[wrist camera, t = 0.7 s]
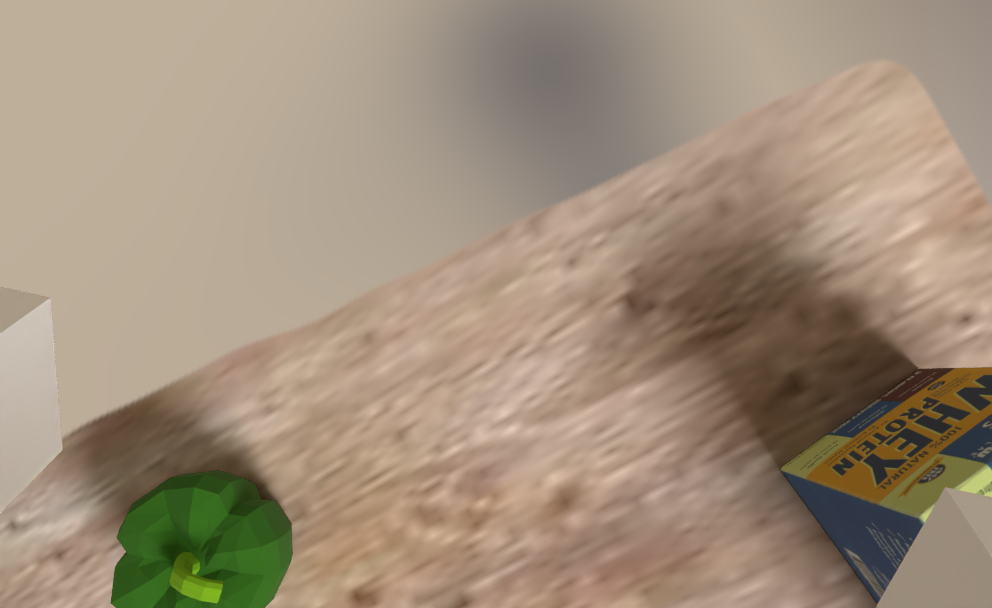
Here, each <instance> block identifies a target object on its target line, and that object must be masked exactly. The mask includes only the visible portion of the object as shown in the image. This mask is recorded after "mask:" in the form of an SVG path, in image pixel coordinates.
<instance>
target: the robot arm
mask: <svg viewBox="0 0 992 608" xmlns="http://www.w3.org/2000/svg"><path fill="white" fill-rule="evenodd" d="M51 310H52V309H51V298H50V297H44V296H40V295H36V294H31V293H26V292H21V291H17V290H12V289H7V288H3V287H0V513H1V512H2V511H3V510H4V509H5V508H6V507H7V506H8V505H9V504H10V503H11V502H12V501H13V500H14V499H15V498H16V497H17V496H18V495H19V494H20V493H21V492H22V491H23V490H24V489H25V488H26V487H27V486H28V485H29V484H30V483H31V482H32V481H33V480H34V479H35V478H36V477H37V476H38V475H39V474H40V473H41V472H42V471H43V470H44V468H45V467H46V466H47V465H48V464H49V463H50V462H51V461H52V460H53V459H54V458H55V457H56V456H57V455H58V454H59V453H60V452H61V451H62V450H63V448H62V436H61V423H60V410H59V398H58V386H57V373H56V360H55V347H54V336H53V323H52V311H51ZM876 608H992V497H989V496H984V495H979V494H975V493H970V492H965V491H961V490H956V489H951V488H946V487H945V488H944V490H943V492H942V494H941V495H940V497H939V499H938V501H937V502H936V504H935V506H934V507H933V509H932V511H931V513H930V514H929V516H928V518H927V520H926V521H925V523H924V525H923V526H922V528H921V530H920V532H919V533H918V535H917V537H916V539H915V540H914V542H913V544H912V546H911V547H910V549H909V551H908V552H907V554H906V556H905V558H904V559H903V561H902V563H901V565H900V566H899V568H898V570H897V571H896V573H895V575H894V577H893V578H892V580H891V582H890V584H889V585H888V587H887V589H886V590H885V592H884V594H883V596H882V597H881V599H880V601H879V603H878V604H877V606H876Z"/></svg>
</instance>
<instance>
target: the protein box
mask: <svg viewBox="0 0 992 608" xmlns="http://www.w3.org/2000/svg"><path fill="white" fill-rule="evenodd" d="M781 471H782V473H783V474H784V476H785V477H786V478H787V480H788V481H789V482H790V484H791V485H792V487H793V488H794V489H795V491H796V492H797V493H798V495H799V496H800V497H801V499H802V500H803V501H804V503H805V504H806V506H807V507H808V508H809V510H810V511H811V512H812V514H813V515H814V516H815V518H816V519H817V521H818V522H819V523H820V525H821V526H822V527H823V529H824V530H825V531H826V533H827V534H828V536H829V537H830V538H831V540H832V541H833V542H834V544H835V545H836V547H837V548H838V549H839V551H840V552H841V554H842V555H843V556H844V558H845V559H846V560H847V562H848V563H849V565H850V566H851V567H852V569H853V570H854V571H855V573H856V574H857V576H858V577H859V578H860V580H861V581H862V583H863V584H864V585H865V587H866V588H867V590H868V591H869V592H870V594H871V595H872V597H873V598H874V600H875V601H876V602H877V604H878V603H879V601H880V599H881V597H882V596H883V594H884V592H885V590H886V589H887V587H888V585H889V584H890V582H891V580H892V578H893V577H894V575H895V573H896V571H897V570H898V568H899V566H900V565H901V563H902V561H903V559H904V558H905V556H906V554H907V552H908V551H909V549H910V547H911V546H912V544H913V542H914V540H915V539H916V537H917V535H918V533H919V532H920V530H921V528H922V526H923V525H924V523H925V521H926V520H927V518H928V516H929V514H930V513H931V511H932V509H933V507H934V506H935V504H936V502H937V501H938V499H939V497H940V495H941V494H942V492H943V490H944V488H945V487H946V488H951V489H956V490H961V491H965V492H970V493H975V494H979V495H984V496H989V497H992V367H982V368H936V369H918V370H917V371H915V372H914V373H913V374H912V375H910V376H909V377H907V378H906V379H905V380H903V381H902V382H901V383H899V384H898V385H896V386H895V387H894V388H892V389H891V390H889V391H888V392H886V393H885V394H884V395H882V396H881V397H879V398H878V399H877V400H875V401H874V402H872V403H870V404H869V405H868V406H866V407H865V408H863V409H862V410H861V411H859V412H858V413H856V414H855V415H854V416H852V417H851V418H849V419H848V420H847V421H845V422H844V423H842V424H841V425H839V426H838V427H837V428H835V429H834V430H833V431H831V432H830V433H828V434H827V435H826V436H824V437H823V438H821V439H820V440H819V441H817V442H816V443H814V444H813V445H812V446H810V447H809V448H808V449H806V450H805V451H803V452H802V453H801V454H799V455H798V456H796V457H795V458H794V459H792V460H791V461H789V462H788V463H787V464H785V465H784V466H783V467H782V468H781Z"/></svg>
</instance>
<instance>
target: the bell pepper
mask: <svg viewBox="0 0 992 608" xmlns="http://www.w3.org/2000/svg"><path fill="white" fill-rule="evenodd" d="M117 539H118V540H119V542H120V543H121V544H122V546H123V547H124V549H125V550H126V553H125V554H124V556H123V557H122V558H121V559H120V561H119V562H118V563H117V565H116V567H115V572H114V580H113V589H112V597H111V604H112V605H113V606H115V607H116V608H265V607H266V606H267V605H268V604H269V603H270V602H271V601H272V600H273V599H274V597H275V594H276V592H277V590H278V588H279V586H280V584H281V582H282V580H283V578H284V575H285V573H286V571H287V569H288V567H289V565H290V563H291V559H292V554H293V551H292V523H291V522H290V520H289V519H288V517H287V516H286V514H285V513H284V511H283V510H282V508H281V507H280V505H279V504H278V502H277V501H272V500H262V499H261V497H260V494H259V492H258V489H257V487H256V485H255V484H254V483H252V482H251V481H249V480H246V479H243V478H241V477H238V476H236V475H233V474H230V473H227V472H223V471H219V470H218V471H209V472H200V473H191V474H184V475H180V476H176V477H171V478H169V479H168V480H166V481H165V482H164V483H162V484H161V485H159V486H158V487H156V488H155V489H153V490H152V491H151V492H149V493H148V494H146V495H145V496H143V497H142V498H140V499H139V500H137V501H136V502H135V503H133V504H132V506H131V508H130V510H129V512H128V514H127V516H126V518H125V520H124V521H123V523H122V525H121V527H120V529H119V532H118V535H117Z"/></svg>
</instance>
